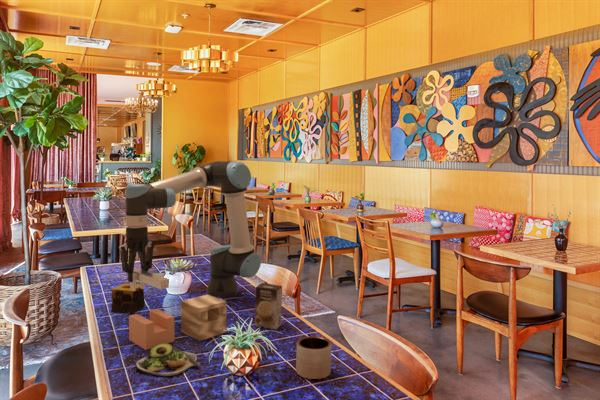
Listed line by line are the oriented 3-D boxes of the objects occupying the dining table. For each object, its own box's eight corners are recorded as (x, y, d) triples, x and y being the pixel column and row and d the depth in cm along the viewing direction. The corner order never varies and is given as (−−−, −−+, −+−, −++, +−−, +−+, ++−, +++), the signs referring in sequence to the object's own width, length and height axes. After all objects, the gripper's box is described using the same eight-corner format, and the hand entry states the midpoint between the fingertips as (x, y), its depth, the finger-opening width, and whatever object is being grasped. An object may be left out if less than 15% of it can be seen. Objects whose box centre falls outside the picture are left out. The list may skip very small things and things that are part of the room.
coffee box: (254, 327, 181) (254, 286, 179) (260, 321, 187) (261, 282, 185) (276, 330, 178) (276, 289, 176) (282, 324, 184) (282, 285, 182)
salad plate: (213, 359, 152) (213, 346, 151) (179, 384, 135) (179, 368, 135) (165, 349, 159) (165, 336, 158) (127, 371, 142) (127, 357, 142)
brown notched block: (207, 324, 183) (207, 294, 182) (226, 332, 175) (226, 301, 174) (181, 331, 174) (181, 300, 173) (199, 340, 166) (199, 308, 165)
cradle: (157, 332, 173) (157, 308, 173) (174, 341, 165) (174, 316, 164) (129, 340, 166) (128, 315, 165) (146, 350, 157) (145, 324, 157)
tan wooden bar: (137, 276, 173) (137, 268, 173) (168, 287, 158) (168, 279, 158) (130, 277, 171) (129, 269, 171) (160, 289, 156) (160, 280, 156)
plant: (185, 281, 247) (185, 264, 246) (150, 288, 232) (150, 271, 231) (160, 272, 264) (160, 257, 263) (126, 279, 248) (126, 262, 248)
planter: (308, 361, 151) (309, 333, 150) (337, 370, 145) (338, 341, 144) (288, 374, 142) (289, 343, 141) (318, 384, 136) (319, 352, 135)
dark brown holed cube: (132, 314, 193) (132, 290, 192) (110, 312, 195) (110, 289, 194) (145, 306, 203) (145, 284, 202) (124, 304, 205) (124, 282, 204)
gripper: (120, 229, 160) (121, 295, 162) (162, 225, 172) (162, 287, 174) (110, 227, 166) (111, 291, 168) (151, 223, 177) (152, 283, 179)
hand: (137, 289), depth 171 cm, fingers closed on tan wooden bar, 3 cm apart
